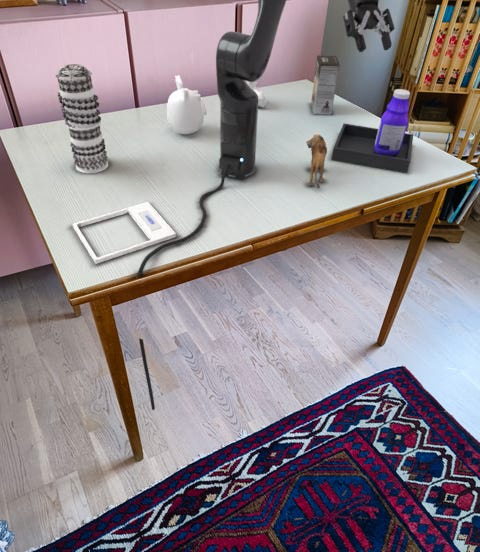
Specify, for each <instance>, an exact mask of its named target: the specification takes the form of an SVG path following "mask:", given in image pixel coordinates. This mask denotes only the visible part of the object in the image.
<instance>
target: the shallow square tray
mask: <svg viewBox="0 0 480 552" xmlns="http://www.w3.org/2000/svg"><path fill="white" fill-rule="evenodd" d="M378 129H379V128H376V127H369V126H362V125H356V124H351V123H344V122H343V123H342V125H341V129H340V130H339V133H338V136H337V138H336V141H335V143H334V145H333V149H332V155H331V161H336V162H342V163H348V164H352V165H360V166H365V167H370V168H375V169H382V170H387V171H393V172H397V173H398V172H399V173H404V174H407V173H408V170H409V166H410V163H411V160H412V159H411V158H412V151H413V142H414V141H413V140H414V134H413V133H406V132H405V135H404V139H403V142H402V145H401V149H400V151H399V153H398V154H397V155H396V156H385V155H379V154H377V153H376V152H375V147H374V146H375V141H376V137H377V133H378Z"/></svg>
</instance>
